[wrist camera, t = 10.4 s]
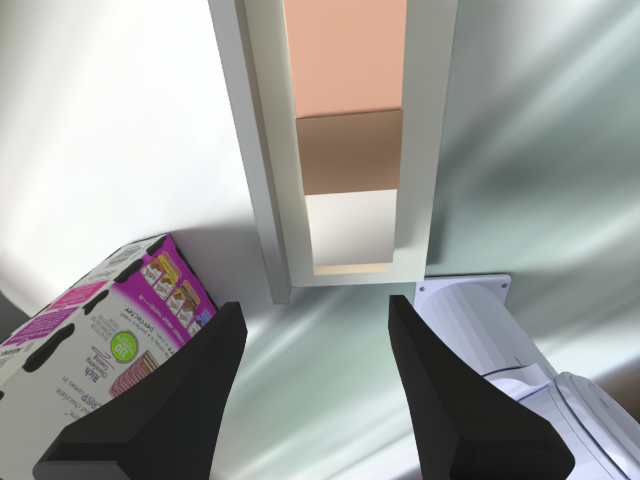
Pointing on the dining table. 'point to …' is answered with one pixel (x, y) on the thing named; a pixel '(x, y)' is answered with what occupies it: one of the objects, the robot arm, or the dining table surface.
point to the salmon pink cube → (346, 55)
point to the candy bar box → (94, 345)
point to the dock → (282, 145)
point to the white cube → (352, 227)
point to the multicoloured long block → (349, 159)
